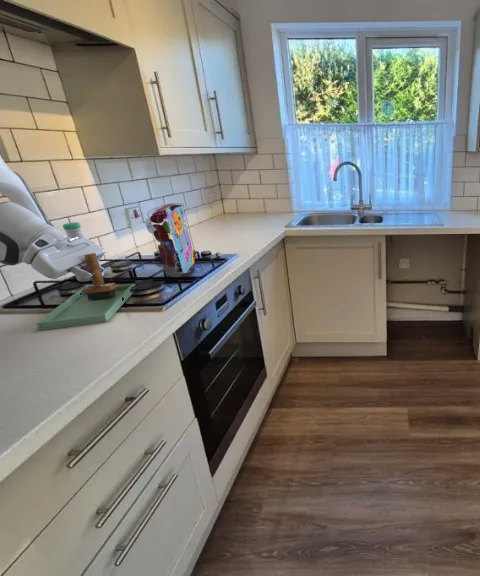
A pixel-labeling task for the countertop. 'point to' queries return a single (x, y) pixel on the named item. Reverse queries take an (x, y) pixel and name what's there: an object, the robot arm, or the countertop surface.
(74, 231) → the milk bottle
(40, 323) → the tray
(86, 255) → the stamp
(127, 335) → the countertop surface
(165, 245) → the box
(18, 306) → the countertop surface
